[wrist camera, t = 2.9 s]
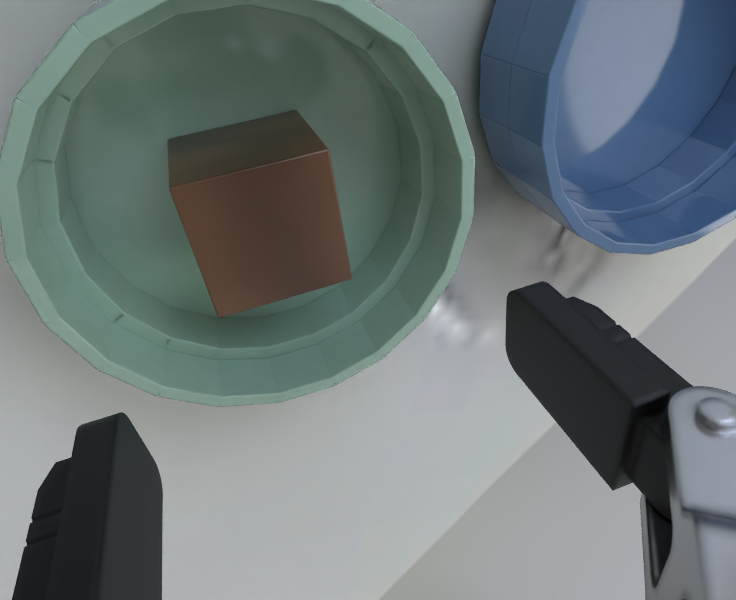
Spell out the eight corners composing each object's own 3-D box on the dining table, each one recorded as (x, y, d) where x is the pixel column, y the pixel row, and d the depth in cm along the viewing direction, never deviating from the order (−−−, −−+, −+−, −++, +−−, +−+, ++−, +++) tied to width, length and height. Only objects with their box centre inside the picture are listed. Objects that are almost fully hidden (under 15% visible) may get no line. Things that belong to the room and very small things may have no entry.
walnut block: (208, 253, 21) (218, 319, 17) (166, 138, 18) (167, 188, 14) (320, 223, 21) (352, 279, 18) (297, 109, 19) (329, 148, 15)
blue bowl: (432, 195, 23) (488, 247, 19) (551, -235, 16) (678, -292, 12) (661, 215, 28) (742, 259, 24) (826, -103, 21) (976, -113, 17)
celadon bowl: (55, 331, 21) (31, 421, 17) (6, -96, 14) (-54, -112, 10) (378, 326, 26) (416, 394, 22) (458, 13, 19) (535, 30, 15)
